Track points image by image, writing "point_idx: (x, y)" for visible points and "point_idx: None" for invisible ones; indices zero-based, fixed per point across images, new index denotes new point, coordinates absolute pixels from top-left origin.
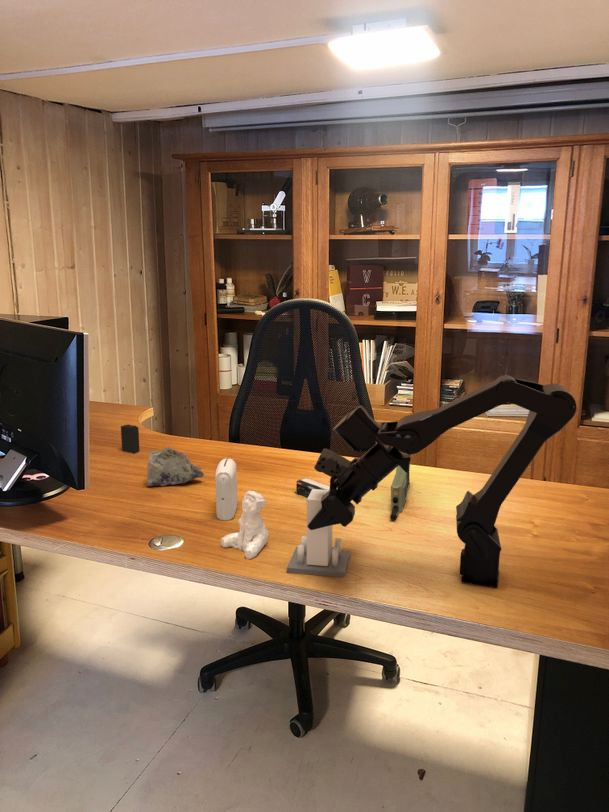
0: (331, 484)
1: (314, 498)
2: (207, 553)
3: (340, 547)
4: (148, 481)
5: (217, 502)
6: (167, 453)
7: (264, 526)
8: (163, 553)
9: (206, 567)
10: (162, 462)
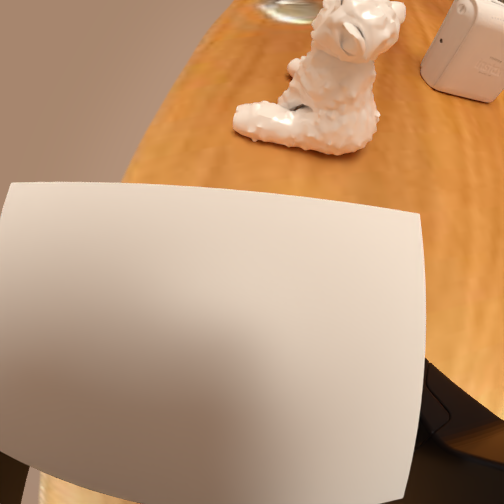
0: (485, 485)
1: (26, 272)
2: (256, 54)
3: None
4: None
5: (434, 41)
6: (502, 2)
7: (349, 119)
8: (246, 9)
9: (187, 64)
10: None
